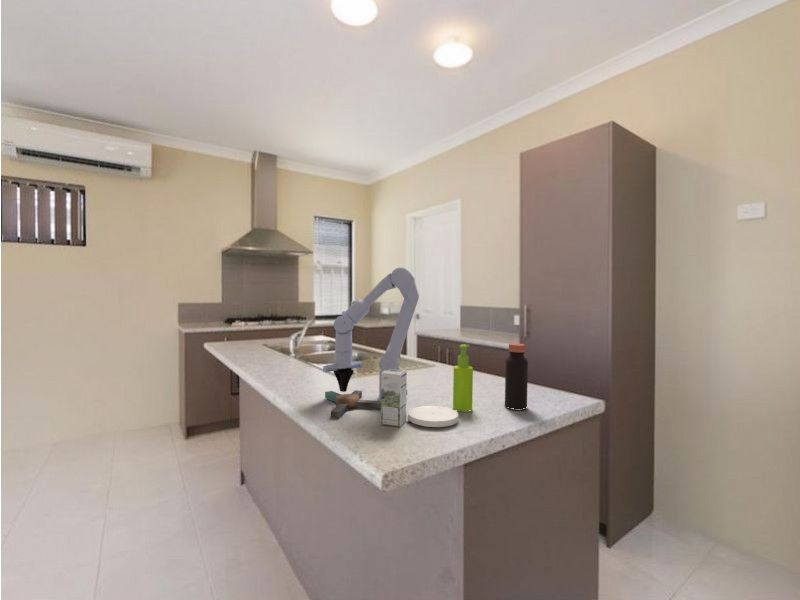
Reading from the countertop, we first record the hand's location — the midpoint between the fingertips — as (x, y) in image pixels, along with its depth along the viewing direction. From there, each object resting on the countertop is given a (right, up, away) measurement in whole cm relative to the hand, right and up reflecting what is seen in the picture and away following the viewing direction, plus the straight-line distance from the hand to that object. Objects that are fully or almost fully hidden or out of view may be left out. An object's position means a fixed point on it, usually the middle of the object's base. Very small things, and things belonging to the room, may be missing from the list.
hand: (343, 390), depth 134 cm
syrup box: (+18, -3, -26) cm, 31 cm away
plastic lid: (+29, -4, -23) cm, 37 cm away
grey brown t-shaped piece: (+7, -2, -11) cm, 14 cm away
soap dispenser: (+39, -3, -12) cm, 41 cm away
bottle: (+56, -3, -10) cm, 57 cm away
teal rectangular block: (-2, -2, -4) cm, 5 cm away
